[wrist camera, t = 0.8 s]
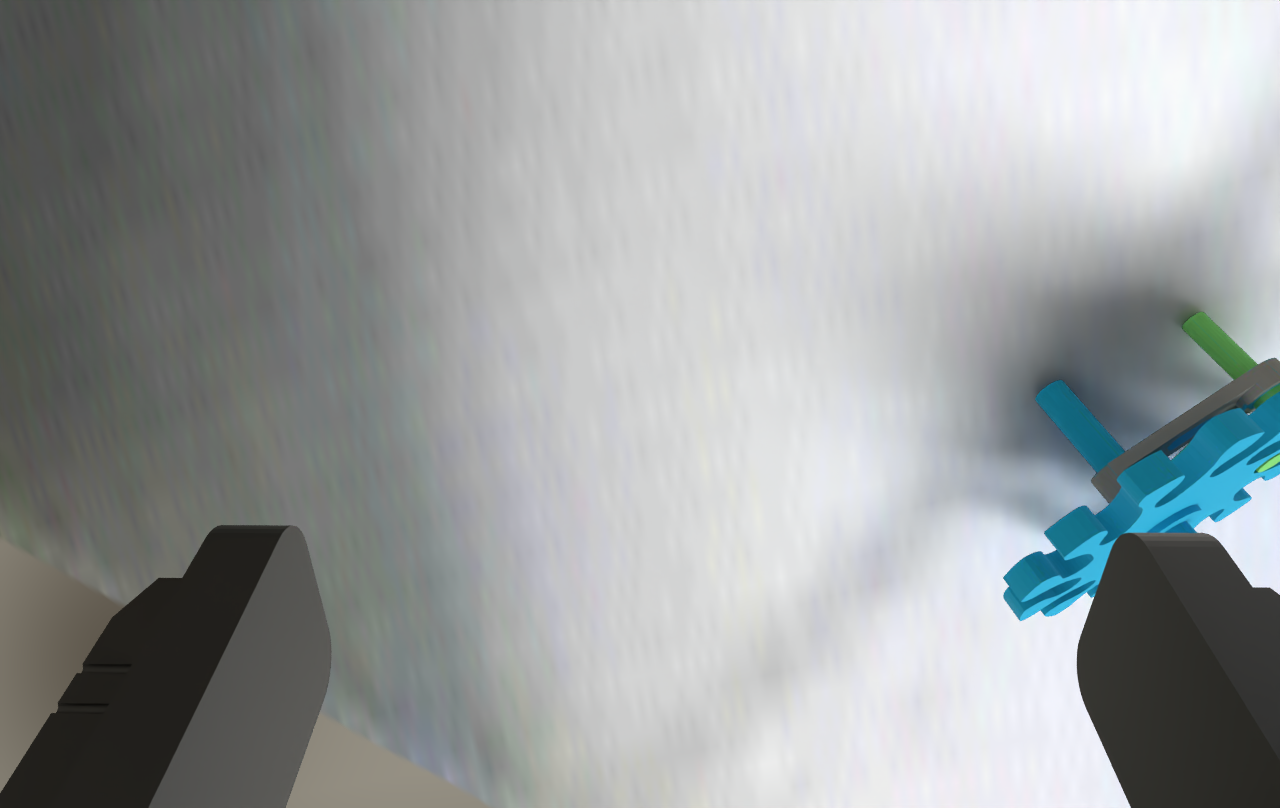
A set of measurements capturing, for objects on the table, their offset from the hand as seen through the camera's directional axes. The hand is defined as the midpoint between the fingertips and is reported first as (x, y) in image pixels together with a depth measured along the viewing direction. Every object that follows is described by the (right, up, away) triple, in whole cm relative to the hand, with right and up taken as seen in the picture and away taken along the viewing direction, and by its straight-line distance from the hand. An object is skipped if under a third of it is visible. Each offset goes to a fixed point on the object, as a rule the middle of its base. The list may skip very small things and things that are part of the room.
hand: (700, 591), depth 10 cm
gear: (+15, +1, +22) cm, 27 cm away
